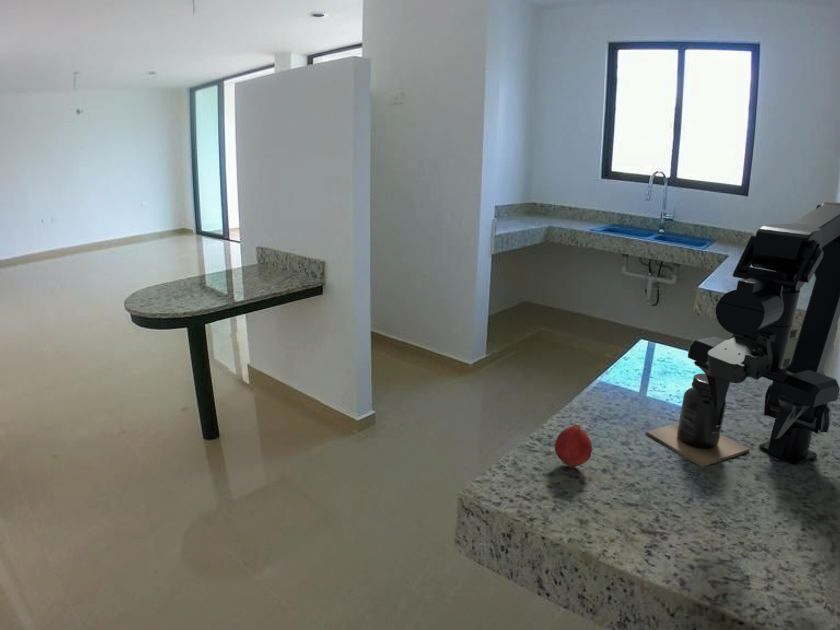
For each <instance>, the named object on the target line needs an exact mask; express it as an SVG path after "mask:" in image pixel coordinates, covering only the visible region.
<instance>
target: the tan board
mask: <svg viewBox="0 0 840 630" xmlns="http://www.w3.org/2000/svg"><path fill="white" fill-rule="evenodd" d="M678 424H679V422H676V423H673V424H668V425H665V426H661V427H658V428H655V429H651V430H648V431H647V430H646V431H645V434H646V436H649V437H650V438H652V439H653V440H656V441H657V442H658V443H660V444H662V445H664V446H665V447H667V448H668V449H670V450H672V451H674V452H675V453H676V454H679V455H680V456H682V457H683V458H686V459H687V460H689V461H691V462H693V463H694V464H696V465H697V466H699V467H701V468H704V467H706V466H709V465H712V464H715V463H718V462H721V461H725V460H728V459H730V458H733V457H737V456H740V455H743V454H745V453H749V452H750V448H749V447H746V446H744V445H742V444H740V443H738V442H737V441H735V440H733V439H731V438H729V437H727V436H725V435H723V434H722V433H720V438H719V442H718V445H717V446H716V447H714V448H710V449H701V448H696V447H692V446H690V445H687V444H685V443H684V442H682V441H681V440H680V439H679V438H678V436H677V430H678Z"/></svg>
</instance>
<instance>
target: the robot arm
mask: <svg viewBox="0 0 840 630" xmlns="http://www.w3.org/2000/svg"><path fill="white" fill-rule="evenodd" d="M813 275H814V277H815V280H814V283H813V287H812V290H811V294H810V297H809V301H808V305H807V308H806V310H805V313H804V317H803V320H802V325H801V326H800V332H799V334H798V337H797V341H796V344H795V347H794V351H793V354H792V356H791V357H792V358H791V357H788V356H786V354H787V350H788V345H789V341H790V339H792V338H796V335H797V331H798V329H795V328H793V325H794V324H793V323H794V320H795V314H796V311H797V308H798V307H797V306H798V303H799V298H800V294H801V288H802V287H803V286H804V285H805V283H808V284H809V282H810V281H811V279H812V277H813ZM732 278H736V279H737V278H738V279H739V280H738V281H737V283H736V288H735V289H734V290H730V291H728V292H726V293H725V294H723V295H722V296H721V297H720V298H719V300H718V302H717V303H716V305H715V316H716V319H717V322H718V324H719V325H720V326H721V327H722V329H724V330H725V331H726V332H729V333H731V334H732V336H731V337H730V339H724V338H721V337H718V336H716V335H715V336H709V337H705V338H699V339H695V340H693V341H692V342H691V344H690V345H689V346H688V350H687V358H688V359H691V360H693V361H694V362H693V363H694V365H695V366H696V367H697V368H699V369H700V370H701V371H702V372H703V374H706V376H707V380H708V383H709V387H710V392H711V396H712V401H713V406H714V409H715V410H720V409H721V408H722V406H723V403H724V401H725V398H726V399H727V394H728V390H729V388H730V384H731V383H732V384H741V383H743V382H744V381H746V379H747V378H751V379H754V380H756V381H758V380H759V379H761V378H764V379H767V380H769V381H772V382H771V383H770V384H769V385H768V387H767V389H766V392H765V396H764V406H763V409H764V410H763V415H764V416H767V417H770V418H772V419H774V420H773V425H772V430H771V434H770V438H769V440H768V441H765V442H762V443H760V444H759V448H760V449H762V450H764V451H765V452H768V453H770V454H772V455H773V456H776V457H778V458H780V459H782V460H784V461H786V462H788V463H789V464H791V465H794V466H795V465H798V464H801V463H804V462H806V461H807V462H808V461H810V460H812V459H815V458H817V457H818V453H816V452H814V451H812V450H810V446H811V442H812V438H813V435H814V434H816V435H819V434H820V433H828V432H829V431H830V430H829V429H830V425H831V423H832V422H831V421H832V420H831V418H832V415H833V414H832V409H831V404H830V403H832V402H835V401H838V397H839V394H840V386H839V383H838V381H837V378H835V377H834V378H833V377H831V376H827V375H826V374H825V371H824V368H825V365H826V361H827V358H828V355H829V352H830V348H831V346H832V342H833V338H834V335H835V331H836V329H837V327H838V323H839V319H840V202H835V201H824V202H819V203H818V204H817V205H816V207H815V208H814V210H811V211H810V212H808V213H806V214H805V215H803V216H801V217H800V218H798V219H796V220H794V221H793V222H791V223H771V224H765V225H762V226H760V227H759V228H758V229H757V231H756V232H754V233H752V235H751V236H750V238H749V240H748V242H747V244H746V246H745V248H744V250H743V253H742V254H741V256H740V259H739V260H738V262H737V264H736V267H735V268H734V271H733V273H732ZM783 367H785V368H783Z"/></svg>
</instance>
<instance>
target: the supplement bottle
mask: <svg viewBox="0 0 840 630" xmlns="http://www.w3.org/2000/svg"><path fill="white" fill-rule="evenodd" d="M681 403H682V404H681V408H680V409H681V410H680V414H679V419H678V423H679V424H678V430H677V436H678V438H679V439H680V440H681V441H682V442H684V443H685V444H687V445H690V446H692V447H696V448H701V449H710V448H714V447H716V446H717V445H718V442H719V438H720V434H722V433H721V432H722V429H723V428H722V427H723V423H724V418H725V413H726V408H727V403H728V401H727V397H726V398H725V401H724V403H723V406H722V408H721V409H720V410H715V409H714V406H713V401H712V396H711V392H710V387H709V383H708V380H707V376H706V374H705V373H697V374H694V375H693V378H692V382H691V387H690V388H688V389H687V390H685V392H684V395H683V398H682V402H681Z"/></svg>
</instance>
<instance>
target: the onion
mask: <svg viewBox="0 0 840 630" xmlns="http://www.w3.org/2000/svg"><path fill="white" fill-rule="evenodd" d="M554 451H555V454H556V455H557V458H558V459H559V460H560V461H561V462H562V463H564V464H565V465H566V466H568V467H569V468H571V469H574V468H576V467H578V466H581V465H583V464H585V463H587V462H588V460H589V459H590V458H591V455H592V451H593V444H592V440H591V438H590V437H589V435H588V434H587V433H586V431H584V430H583V429H582V428H581V424H580V423H578V422H577V423H575V424H574V423H573V425H571V426H568V427H566V428H564V429H563V430H562V431H561V432H559V434H558V435H557V437H556V439H555V443H554Z"/></svg>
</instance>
